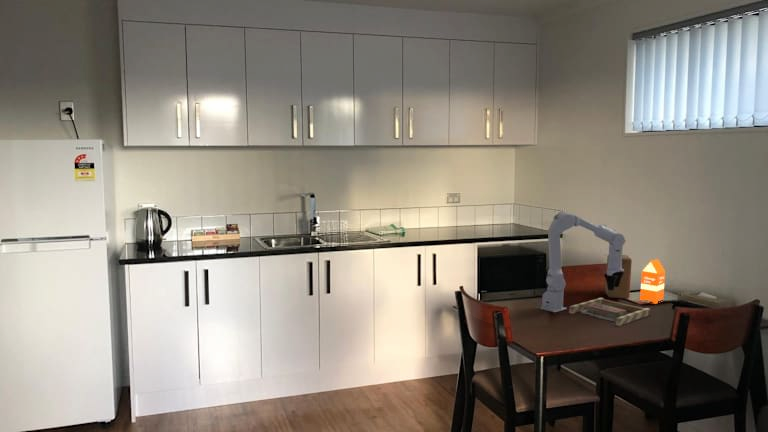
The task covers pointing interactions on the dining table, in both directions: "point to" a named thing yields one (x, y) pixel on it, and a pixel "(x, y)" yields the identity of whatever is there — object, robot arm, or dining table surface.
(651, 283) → the orange juice
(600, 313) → the packaged product
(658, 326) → the dining table surface
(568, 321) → the dining table surface
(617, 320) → the beige wooden frame
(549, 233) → the robot arm
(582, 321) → the dining table surface
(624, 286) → the wooden block
